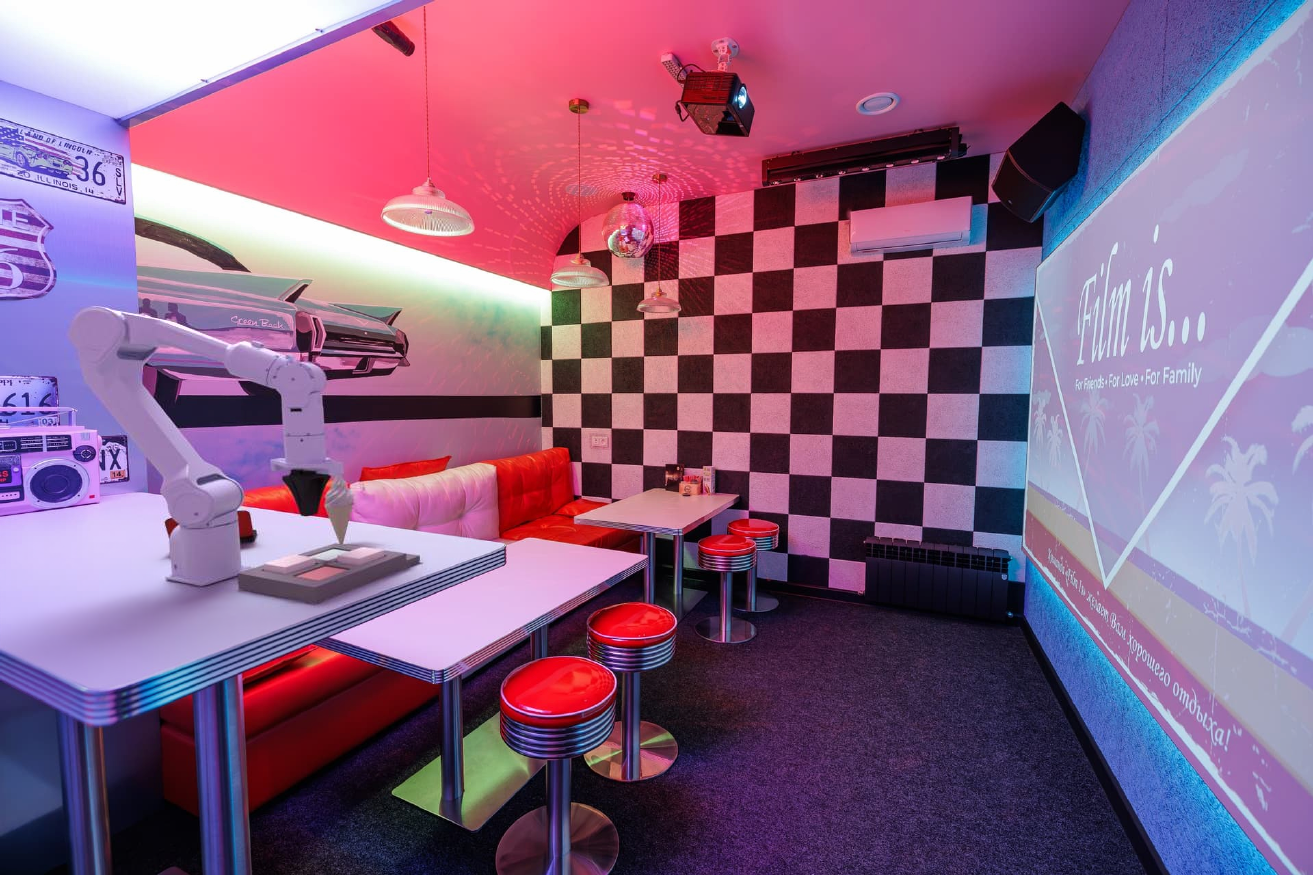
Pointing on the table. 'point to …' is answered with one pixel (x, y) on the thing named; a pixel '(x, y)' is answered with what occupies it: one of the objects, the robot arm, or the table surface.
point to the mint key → (328, 554)
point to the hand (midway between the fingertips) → (309, 514)
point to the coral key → (321, 573)
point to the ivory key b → (360, 556)
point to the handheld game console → (243, 522)
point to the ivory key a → (289, 564)
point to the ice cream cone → (339, 506)
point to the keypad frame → (328, 586)
